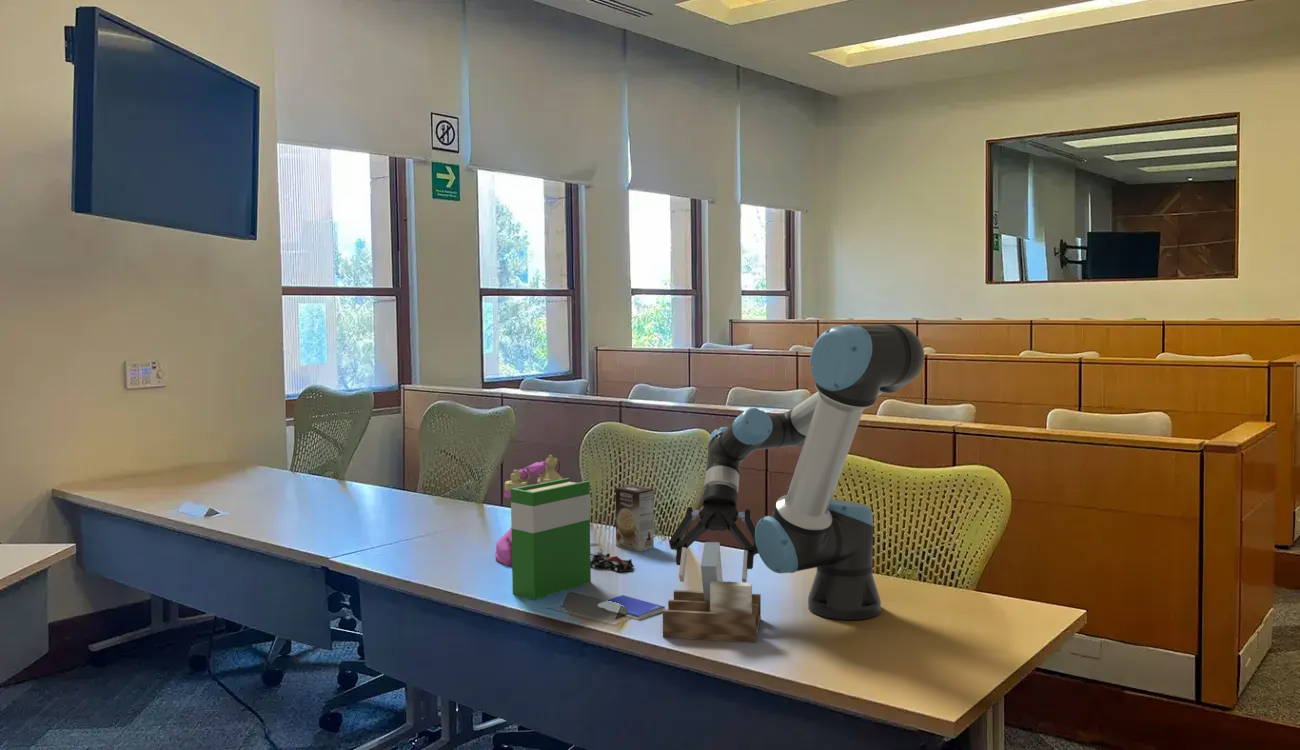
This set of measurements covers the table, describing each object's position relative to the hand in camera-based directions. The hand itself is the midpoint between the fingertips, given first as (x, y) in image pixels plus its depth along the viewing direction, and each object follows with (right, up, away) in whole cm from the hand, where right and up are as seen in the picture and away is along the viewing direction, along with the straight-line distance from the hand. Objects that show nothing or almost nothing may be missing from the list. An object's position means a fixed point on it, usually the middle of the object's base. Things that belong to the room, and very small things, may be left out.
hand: (712, 580), depth 193 cm
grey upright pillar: (0, -4, +1) cm, 4 cm away
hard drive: (-17, -9, +9) cm, 21 cm away
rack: (0, -9, -3) cm, 9 cm away
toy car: (-22, -6, +41) cm, 47 cm away
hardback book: (-35, -7, +25) cm, 44 cm away
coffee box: (-17, -5, +62) cm, 65 cm away
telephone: (-42, -5, +58) cm, 72 cm away
